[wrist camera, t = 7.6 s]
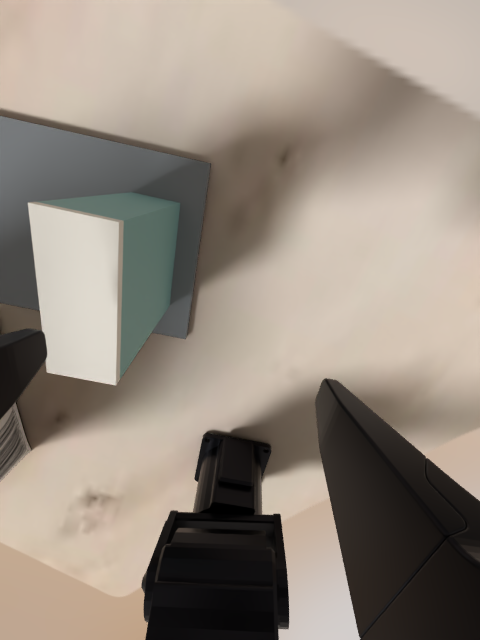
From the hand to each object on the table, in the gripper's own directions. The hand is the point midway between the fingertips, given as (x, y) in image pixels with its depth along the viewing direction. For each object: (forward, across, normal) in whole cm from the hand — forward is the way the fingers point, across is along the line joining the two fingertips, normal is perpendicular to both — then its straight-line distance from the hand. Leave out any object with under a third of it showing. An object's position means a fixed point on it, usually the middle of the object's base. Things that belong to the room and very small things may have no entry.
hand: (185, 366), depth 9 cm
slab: (+11, +5, 0) cm, 12 cm away
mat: (+12, +9, 0) cm, 15 cm away
